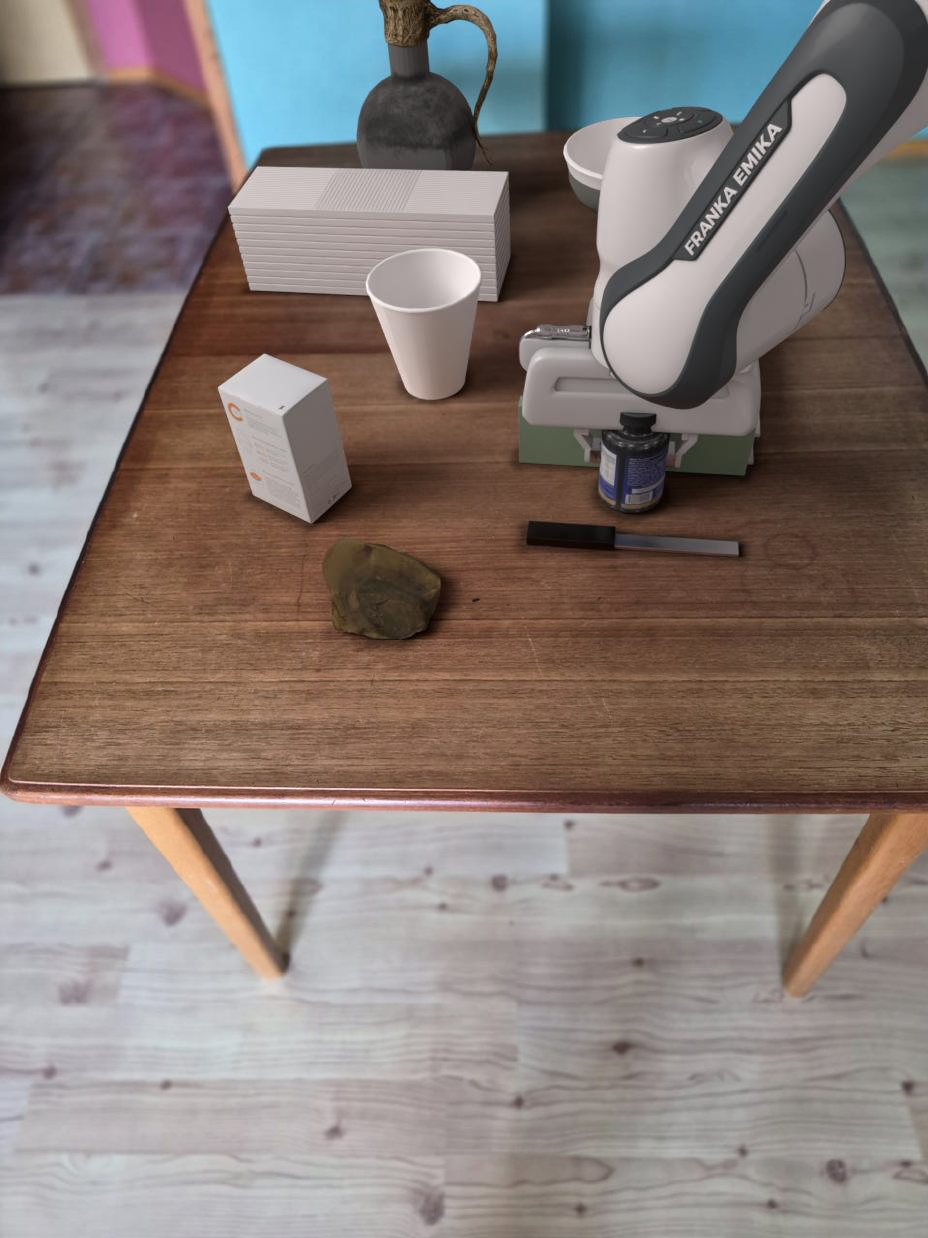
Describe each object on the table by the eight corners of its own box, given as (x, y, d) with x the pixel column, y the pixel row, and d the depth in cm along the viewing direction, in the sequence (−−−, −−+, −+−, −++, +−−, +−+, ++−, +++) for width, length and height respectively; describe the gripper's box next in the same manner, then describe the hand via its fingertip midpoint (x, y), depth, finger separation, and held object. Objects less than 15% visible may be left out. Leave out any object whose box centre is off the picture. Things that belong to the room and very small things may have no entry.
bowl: (711, 240, 114) (722, 175, 107) (565, 248, 115) (567, 183, 109) (690, 173, 126) (698, 111, 119) (558, 181, 127) (559, 120, 120)
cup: (509, 375, 98) (507, 271, 89) (435, 428, 93) (424, 324, 84) (433, 337, 104) (423, 235, 94) (359, 386, 99) (340, 283, 89)
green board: (744, 464, 87) (758, 406, 81) (744, 475, 86) (758, 417, 80) (521, 452, 90) (520, 395, 85) (519, 462, 89) (518, 405, 84)
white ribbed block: (510, 256, 114) (508, 171, 106) (497, 301, 108) (493, 214, 100) (276, 247, 120) (257, 165, 111) (250, 290, 113) (227, 206, 105)
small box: (353, 487, 88) (330, 377, 78) (311, 526, 85) (281, 416, 75) (293, 459, 92) (263, 350, 81) (251, 495, 88) (214, 387, 78)
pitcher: (382, 187, 129) (349, -66, 106) (510, 195, 125) (504, -66, 102) (358, 224, 122) (317, -37, 99) (492, 233, 118) (482, -36, 95)
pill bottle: (669, 481, 86) (684, 387, 77) (651, 523, 83) (664, 428, 74) (609, 466, 88) (616, 372, 79) (588, 506, 84) (594, 413, 76)
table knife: (737, 542, 80) (739, 534, 80) (738, 559, 79) (740, 552, 78) (529, 527, 83) (529, 520, 82) (526, 544, 82) (526, 537, 81)
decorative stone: (451, 568, 81) (448, 541, 78) (426, 648, 75) (422, 622, 72) (342, 554, 83) (335, 527, 80) (309, 631, 77) (301, 605, 74)
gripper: (513, 346, 71) (516, 476, 82) (778, 356, 68) (745, 490, 79) (522, 303, 75) (524, 432, 86) (773, 310, 72) (742, 444, 83)
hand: (632, 460), depth 82 cm, fingers closed on pill bottle, 6 cm apart
